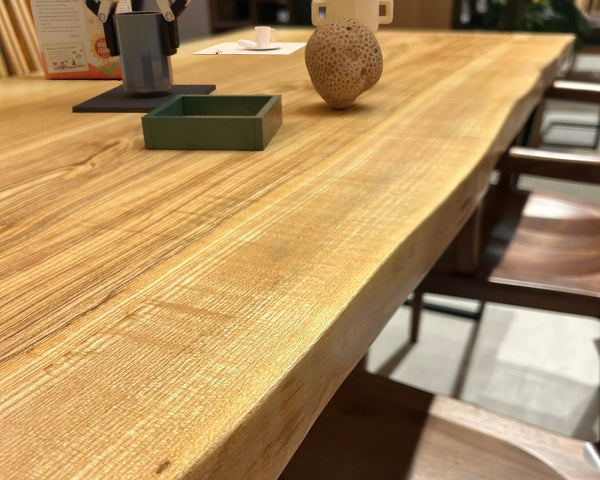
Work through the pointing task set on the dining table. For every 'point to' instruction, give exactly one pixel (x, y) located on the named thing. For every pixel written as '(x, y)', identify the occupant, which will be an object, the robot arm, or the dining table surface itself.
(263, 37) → the teacup and saucer
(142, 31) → the cup
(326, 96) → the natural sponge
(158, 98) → the rubber mat
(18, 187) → the dining table surface
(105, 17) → the robot arm
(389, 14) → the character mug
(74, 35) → the cracker box
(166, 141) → the square tray
